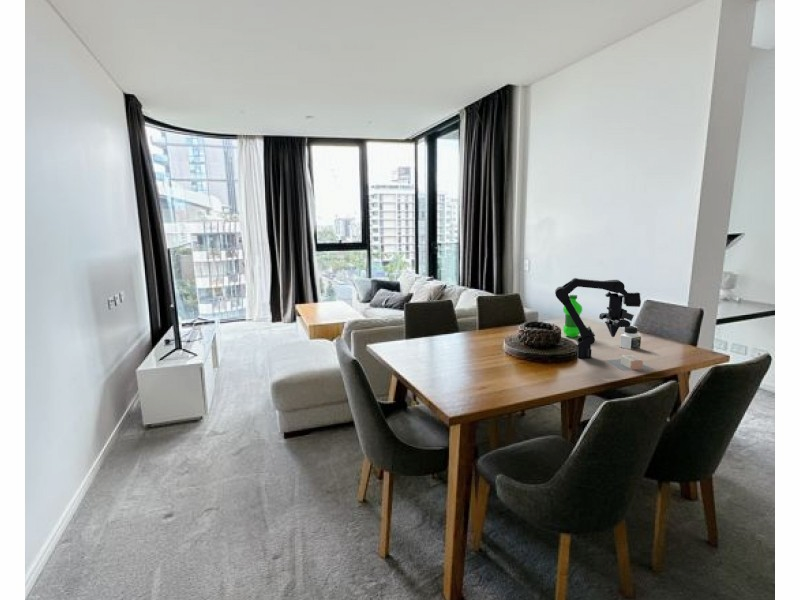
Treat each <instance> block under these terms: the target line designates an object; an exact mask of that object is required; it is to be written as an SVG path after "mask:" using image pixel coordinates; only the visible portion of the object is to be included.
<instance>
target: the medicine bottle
mask: <svg viewBox="0 0 800 600" xmlns="http://www.w3.org/2000/svg"><path fill="white" fill-rule="evenodd" d="M638 328H639V327H637V326H635V325H630V327H624V333H622V334H620V335H619V336H620V337H619V348H621V347H622V349H628V350H635V349H639V348H640V349H641V342H642V335H639V334H638Z"/></svg>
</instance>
